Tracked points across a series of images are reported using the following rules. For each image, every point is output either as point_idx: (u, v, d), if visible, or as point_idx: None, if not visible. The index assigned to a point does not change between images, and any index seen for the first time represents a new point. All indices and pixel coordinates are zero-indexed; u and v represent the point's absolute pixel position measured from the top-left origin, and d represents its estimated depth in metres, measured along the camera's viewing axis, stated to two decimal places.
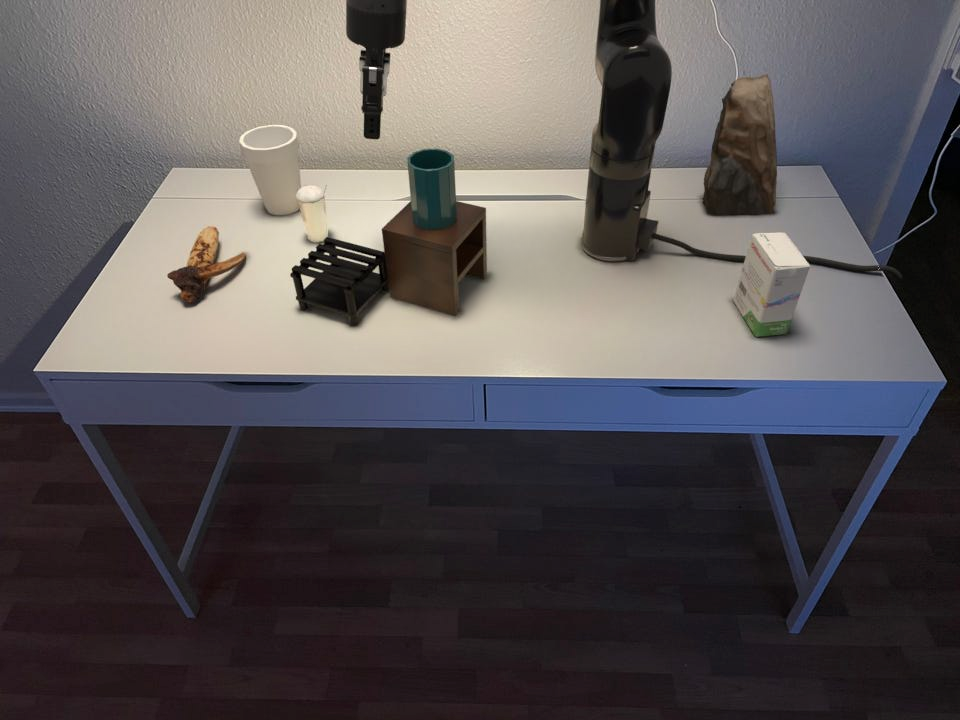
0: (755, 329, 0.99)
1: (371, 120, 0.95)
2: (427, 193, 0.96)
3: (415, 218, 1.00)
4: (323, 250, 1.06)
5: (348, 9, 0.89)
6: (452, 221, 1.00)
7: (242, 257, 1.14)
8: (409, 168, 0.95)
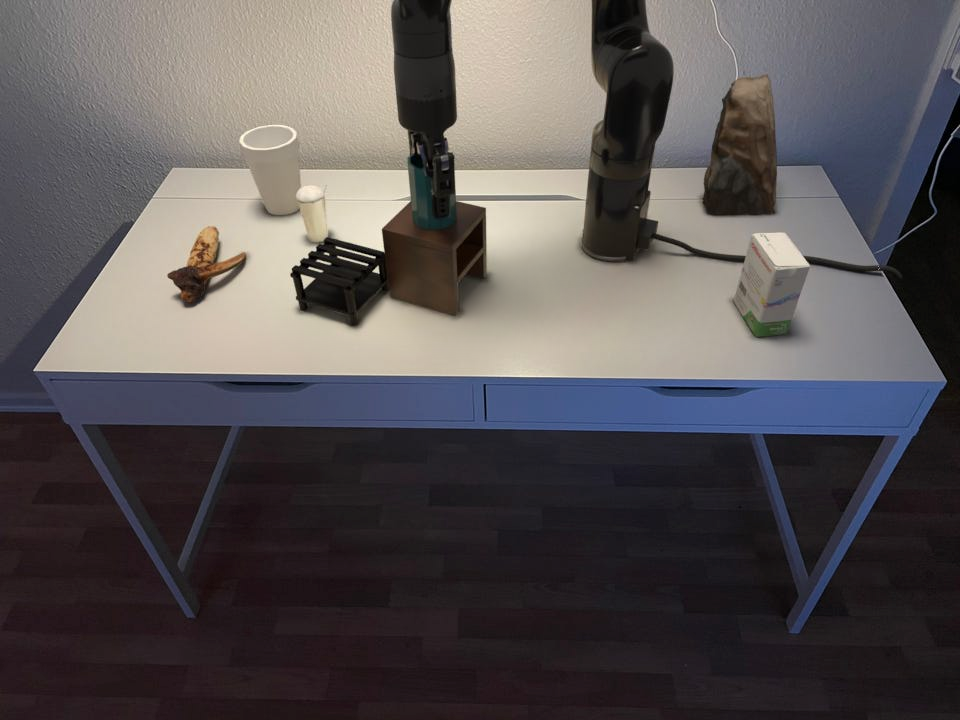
0: (755, 329, 0.99)
1: (441, 201, 0.95)
2: (427, 193, 0.96)
3: (415, 218, 1.00)
4: (323, 250, 1.06)
5: (403, 101, 0.88)
6: (452, 221, 1.00)
7: (242, 257, 1.14)
8: (409, 168, 0.95)
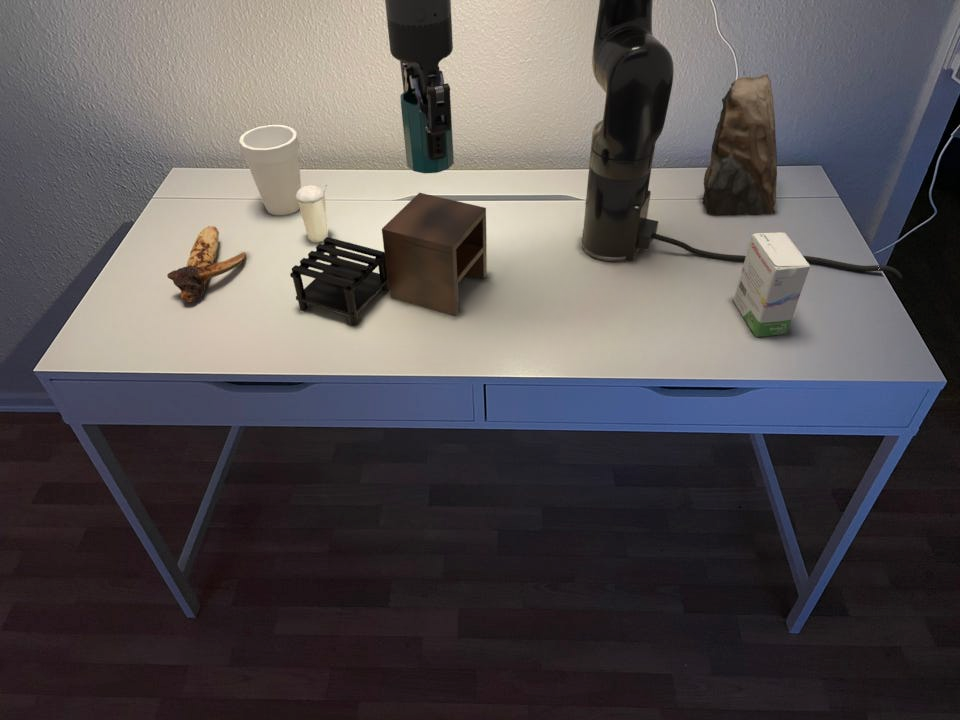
0: (755, 329, 0.99)
1: (436, 140, 0.90)
2: (422, 132, 0.90)
3: (409, 161, 0.94)
4: (323, 250, 1.06)
5: (395, 27, 0.82)
6: (449, 164, 0.94)
7: (242, 257, 1.14)
8: (402, 105, 0.89)
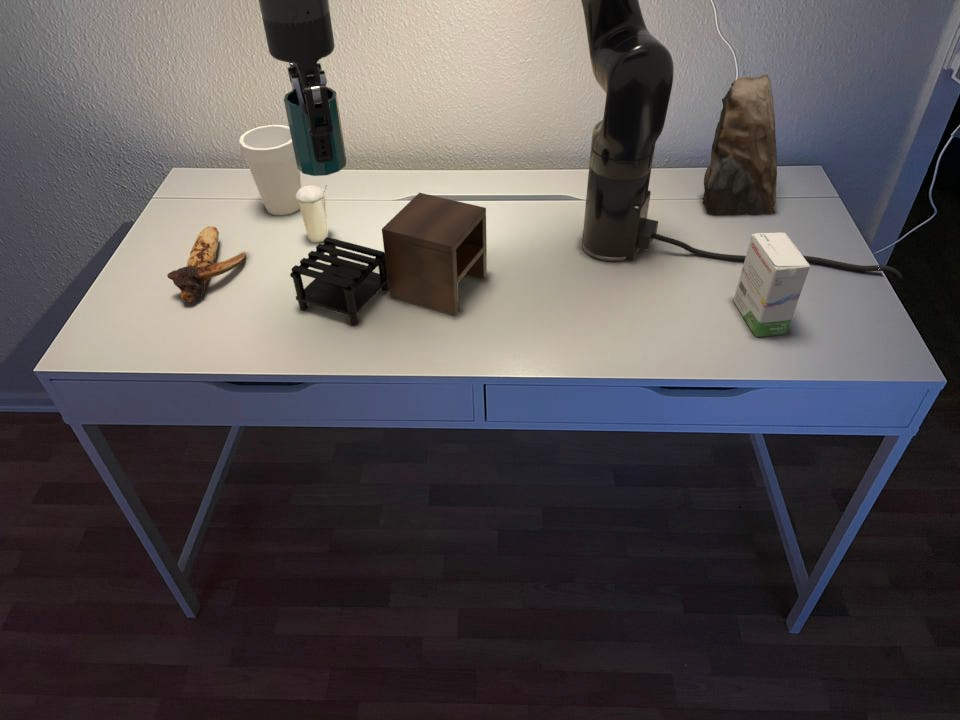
0: (755, 329, 0.99)
1: (321, 142, 0.87)
2: (306, 133, 0.87)
3: (298, 163, 0.91)
4: (323, 250, 1.06)
5: (268, 25, 0.79)
6: (339, 167, 0.92)
7: (242, 257, 1.14)
8: (285, 105, 0.87)
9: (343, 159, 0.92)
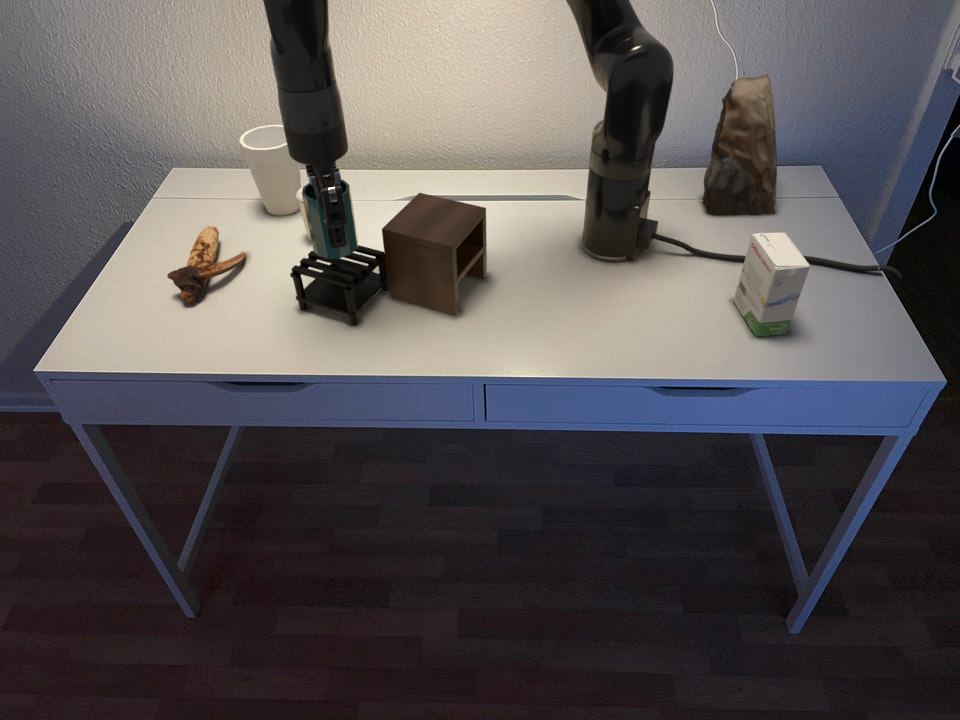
0: (755, 329, 0.99)
1: (336, 231, 0.95)
2: (322, 223, 0.96)
3: (314, 247, 1.00)
4: None
5: (289, 134, 0.88)
6: (352, 250, 1.00)
7: (242, 257, 1.14)
8: (303, 198, 0.95)
9: (355, 242, 1.00)
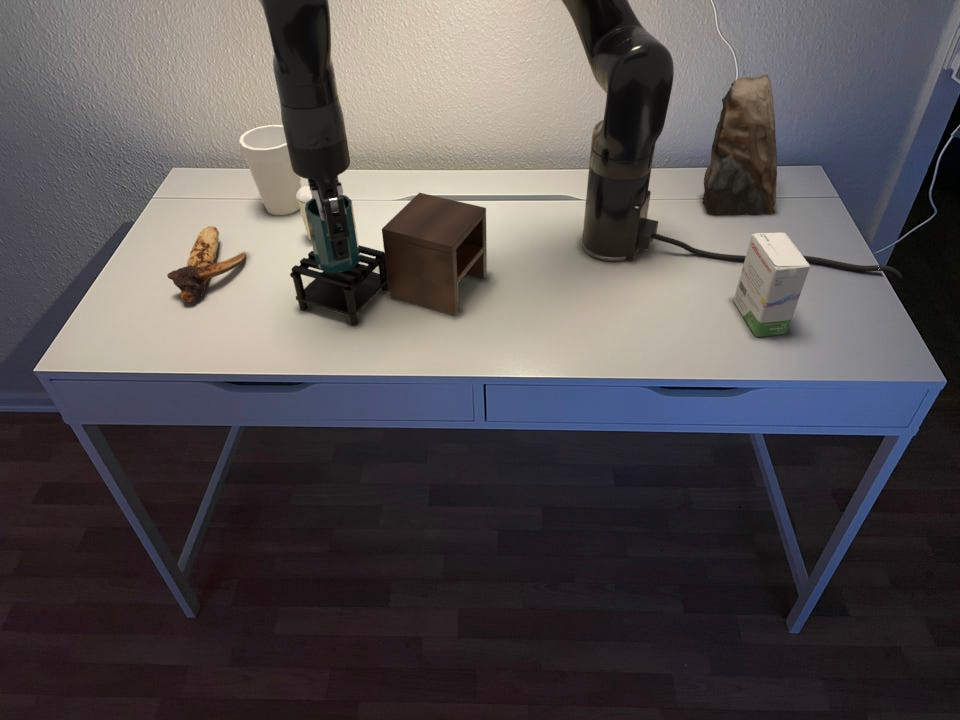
0: (755, 329, 0.99)
1: (339, 243, 0.96)
2: (325, 238, 0.97)
3: (317, 261, 1.01)
4: None
5: (292, 149, 0.89)
6: (354, 264, 1.02)
7: (242, 257, 1.14)
8: (306, 214, 0.97)
9: (357, 256, 1.02)
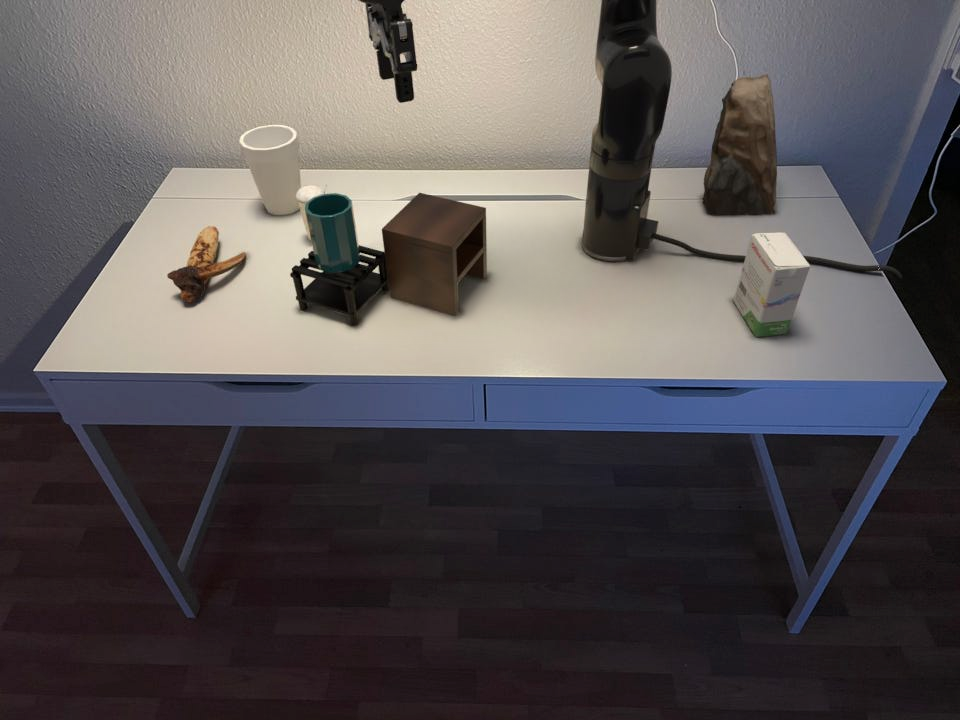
0: (755, 329, 0.99)
1: (404, 81, 0.90)
2: (325, 238, 0.97)
3: (317, 261, 1.01)
4: None
5: None
6: (354, 264, 1.02)
7: (242, 257, 1.14)
8: (306, 214, 0.97)
9: (357, 256, 1.02)
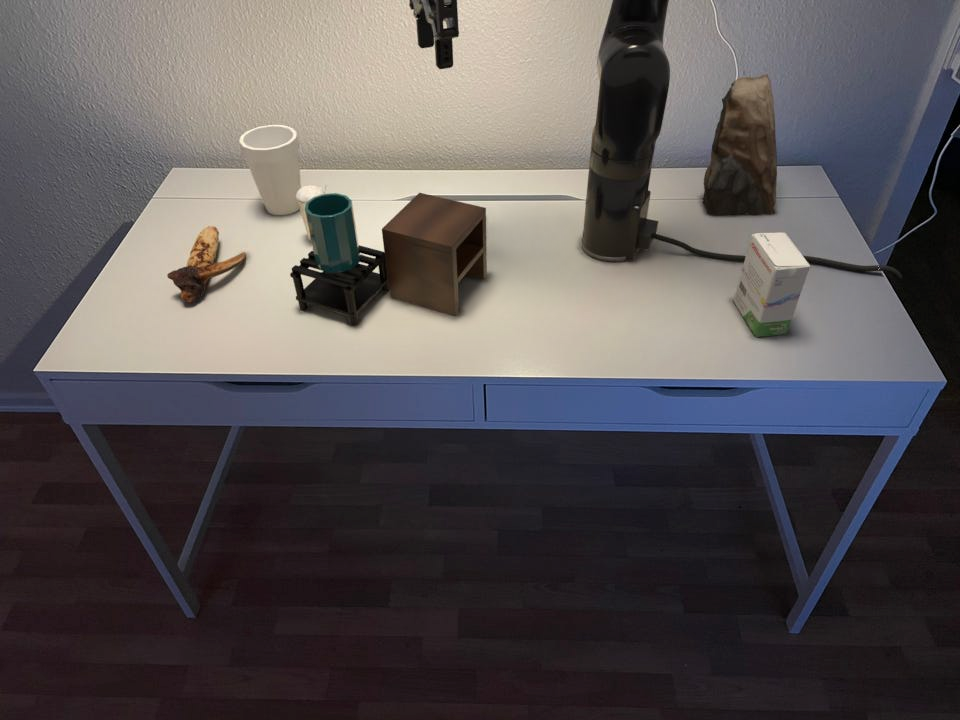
0: (755, 329, 0.99)
1: (445, 47, 0.93)
2: (325, 238, 0.97)
3: (317, 261, 1.01)
4: None
5: None
6: (354, 264, 1.02)
7: (242, 257, 1.14)
8: (306, 214, 0.97)
9: (357, 256, 1.02)
